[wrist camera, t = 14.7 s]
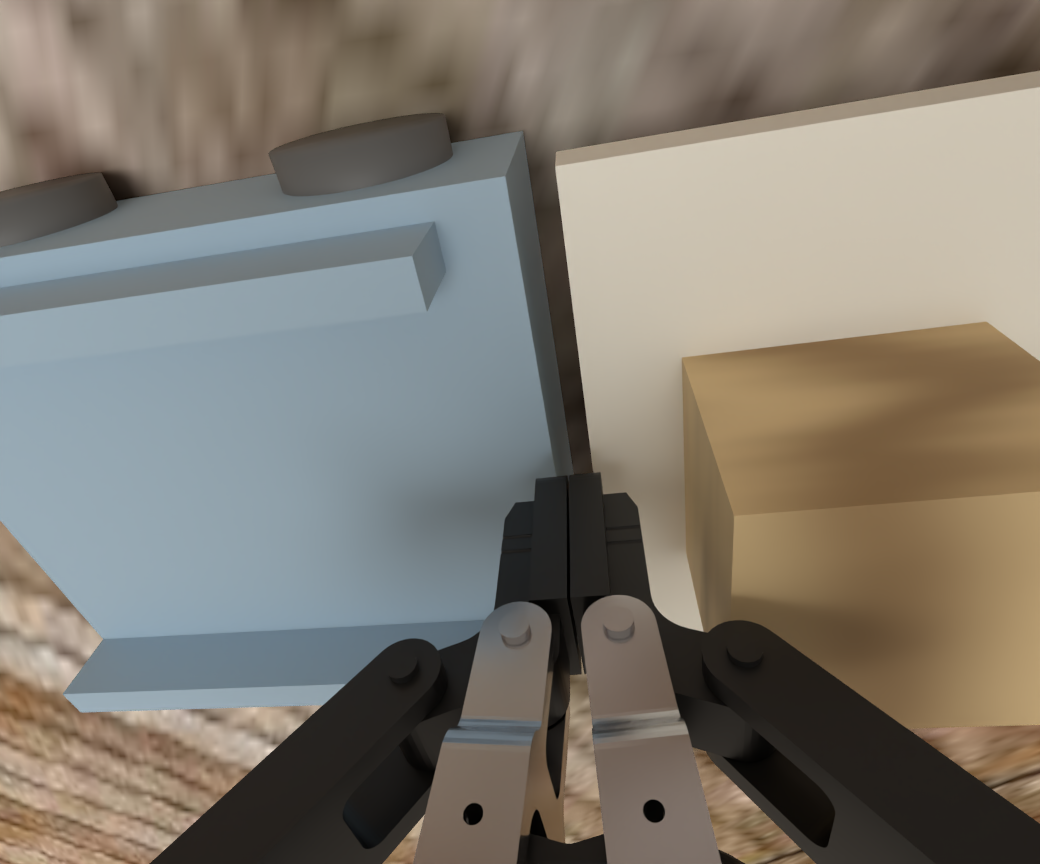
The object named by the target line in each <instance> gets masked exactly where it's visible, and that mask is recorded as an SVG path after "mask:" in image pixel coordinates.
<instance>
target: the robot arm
mask: <svg viewBox="0 0 1040 864" xmlns="http://www.w3.org/2000/svg"><path fill="white" fill-rule="evenodd" d="M581 657H582V663H583V668H584V673H585V674H587V682H588V690H589V699H590V707H591V715H592V725H593V728H592V735H593V745H594V753H595V762H596V771H597V779H598V788H599V796H600V805H601V813H602V822H603V830H604V834H602V835H599V836H596V837H593V838H590V839H586V840H583V841H580V842H577V843H572V844H566V843H565V829H564V792H565V778H566V764H567V750H568V736H569V721H570V707H569V701H570V675H577V674H582V672H581ZM692 747H694V748H697V749H701V750H704V751H706V752H707V754H708V756H709V757H710V759H711V760H712V761H713V762H714V763H715V765H716V766H717V767H718V768H719V769H720V770H721V771H723V772H724V773H725V774H726V775H727V776H728V777H729V778H730V779H731V780H732V781H733V782H734V783H735V784H736V785H737V786H738V787H739V788H740V789H741V790H742V791H743V792H744V793H745V794H746V795H747V796H748V797H749V798H750V799H751V800H752V801H753V802H754V803H755V804H756V805H757V806H758V807H759V808H760V809H761V810H762V811H763V812H764V813H765V814H766V815H767V816H768V817H769V818H770V819H771V820H772V821H773V822H774V823H775V824H776V825H777V826H779V827H780V828H781V829H782V830H783V831H784V832H785V833H786V834H787V835H788V836H789V837H790V838H791V839H792V840H793V841H794V842H795V843H796V844H797V845H798V846H799V847H800V848H801V849H802V850H803V851H804V852H805V853H806V854H807V855H808V856H809V857H810V858H811V859H812V860H813V861H814V862H815V863H816V864H1040V824H1039V823H1038V822H1036V821H1035V820H1034V819H1032V818H1031V817H1030V816H1028V815H1027V814H1025V813H1024V812H1023V811H1021V810H1020V809H1018V808H1017V807H1016V806H1014V805H1013V804H1011V803H1010V802H1009V801H1007V800H1006V799H1004V798H1003V797H1002V796H1000V795H999V794H998V793H996V792H995V791H993V790H992V789H991V788H989V787H988V786H986V785H985V784H984V783H982V782H981V781H979V780H978V779H977V778H975V777H974V776H972V775H971V774H970V773H968V772H967V771H965V770H964V769H963V768H961V767H960V766H959V765H957V764H956V763H954V762H953V761H952V760H950V759H949V758H947V757H946V756H945V755H943V754H942V753H940V752H939V751H938V750H936V749H935V748H933V747H932V746H931V745H929V744H928V743H927V742H925V741H924V740H922V739H921V738H920V737H918V736H917V735H915V734H914V733H913V732H911V731H910V730H908V729H907V728H906V727H904V726H903V725H901V724H900V723H899V722H897V721H896V720H895V719H893V718H892V717H890V716H889V715H888V714H886V713H885V712H883V711H882V710H881V709H879V708H878V707H876V706H875V705H874V704H872V703H871V702H869V701H868V700H867V699H865V698H864V697H862V696H861V695H860V694H858V693H857V692H856V691H854V690H853V689H851V688H850V687H849V686H847V685H846V684H844V683H843V682H842V681H840V680H839V679H837V678H836V677H835V676H833V675H832V674H830V673H829V672H828V671H826V670H825V669H824V668H822V667H821V666H819V665H818V664H817V663H815V662H814V661H812V660H811V659H810V658H808V657H807V656H805V655H804V654H803V653H801V652H800V651H798V650H797V649H796V648H794V647H793V646H792V645H790V644H789V643H787V642H786V641H785V640H783V639H782V638H780V637H779V636H778V635H776V634H775V633H773V632H772V631H771V630H769V629H767V628H766V627H764V626H762V625H759V624H757V623H754V622H750V621H744V620H733V621H727V622H723V623H721V624H718V625H717V626H715V627H714V628H712V629H711V630H710V631H709V632H708V633H707V632H703V631H698V630H694V629H689V628H686V627H682V626H680V625H677V624H675V623H673V622H671V621H670V620H668V619H667V618H665V617H664V616H663V615H662V614H661V613H660V612H659V611H658V610H657V608H656V607H655V605H654V603H653V601H652V597H651V592H650V585H649V578H648V572H647V565H646V558H645V552H644V545H643V538H642V532H641V525H640V518H639V512H638V507H637V505H636V504H635V503H634V502H633V500H632V499H631V498H630V497H629V495H628V494H627V493H626V492H623V493H612V494H603V486H602V478H601V472H596V473H586V474H575V475H569V480H568V476H567V475H566V476H556V477H546V478H536V481H535V495H534V501H527V502H516V503H515V504H514V506H513V507H512V509H511V510H510V512H509V513H508V515H507V516H506V518H505V521H504V530H503V540H502V547H501V556H500V564H499V573H498V581H497V590H496V598H495V606H494V611H493V612H492V613H491V614H489V615H488V617H487V618H486V619H485V620H484V622H483V624H482V627H481V630H480V631H479V632H478V633H477V634H475V635H474V636H472V637H471V638H469V639H467V640H465V641H462V642H460V643H457V644H454V645H451V646H449V647H446V648H443V649H440V650H437V649H436V647H435V646H434V645H433V644H431V643H430V642H428V641H426V640H423V639H418V638H410V639H404V640H401V641H398V642H396V643H394V644H392V645H390V646H388V647H387V648H386V649H384V650H383V651H382V652H381V653H380V654H379V655H377V656H376V657H375V658H374V659H373V660H372V661H371V662H370V663H369V664H368V665H366V666H365V667H364V668H363V669H362V670H361V671H360V672H359V673H358V674H357V675H356V676H354V677H353V678H352V679H351V680H350V681H349V682H348V683H347V684H346V685H345V686H344V687H342V688H341V689H340V690H339V691H338V692H337V693H336V694H335V695H334V696H333V697H331V698H330V699H329V700H328V701H327V702H326V703H325V704H324V705H323V706H322V707H321V708H319V709H318V710H317V711H316V712H315V713H314V714H313V715H312V716H311V717H310V718H309V719H307V720H306V721H305V722H304V723H303V724H302V725H301V726H300V727H299V728H298V729H296V730H295V731H294V732H293V733H292V734H291V735H290V736H289V737H288V738H287V739H286V740H284V741H283V742H282V743H281V744H280V745H279V746H278V747H277V748H276V749H275V750H274V751H272V752H271V753H270V754H269V755H268V756H267V757H266V758H265V759H264V760H263V761H261V762H260V763H259V764H258V765H257V766H256V767H255V768H254V769H253V770H252V771H251V772H249V773H248V774H247V775H246V776H245V777H244V778H243V779H242V780H241V781H240V782H238V783H237V784H236V785H235V786H234V787H233V788H232V789H231V790H230V791H229V792H228V793H226V794H225V795H224V796H223V797H222V798H221V799H220V800H219V801H218V802H217V803H216V804H214V805H213V806H212V807H211V808H210V809H209V810H208V811H207V812H206V813H205V814H203V815H202V816H201V817H200V818H199V819H198V820H197V821H196V822H195V823H194V824H193V825H191V826H190V827H189V828H188V829H187V830H186V831H185V832H184V833H183V834H182V835H181V836H179V837H178V838H177V839H176V840H175V841H174V842H173V843H172V844H171V845H170V846H168V847H167V848H166V849H165V850H164V851H163V852H162V853H161V854H160V855H159V856H158V857H156V858H155V859H154V860H153V861H152V862H151V863H150V864H382V863H383V862H384V861H385V860H386V859H387V857H388V856H389V855H390V854H391V853H392V852H393V851H394V849H395V848H396V847H397V846H398V845H399V844H400V842H401V841H402V840H403V839H404V838H405V837H406V835H407V834H408V833H409V832H410V831H411V830H412V828H413V827H414V826H415V825H416V824H417V823H418V821H419V820H420V819H421V818H422V817H423V816H424V814H425V816H424V820H423V824H422V829H421V833H420V837H419V841H418V845H417V849H416V853H415V858H414V862H413V864H745V863H743V862H741V861H740V860H738V859H736V858H734V857H733V856H731V855H729V854H727V853H725V852H723V851H720V850H718V847H717V843H716V840H715V836H714V832H713V828H712V824H711V820H710V816H709V812H708V808H707V804H706V800H705V796H704V792H703V788H702V784H701V780H700V776H699V772H698V768H697V764H696V761H695V757H694V753H693V749H692Z"/></svg>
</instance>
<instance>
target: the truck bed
mask: <svg viewBox="0 0 1040 864" xmlns="http://www.w3.org/2000/svg"><path fill="white" fill-rule="evenodd" d="M269 156H270V159H271V162H272V164H273V167H274V170H275V174H270V175H264V176H258V177H252V178H246V179H241V180H235V181H229V182H223V183H217V184H212V185H206V186H200V187H194V188H188V189H183V190H177V191H171V192H165V193H159V194H154V195H148V196H142V197H136V198H130V199H125V200H119V201H116V200H115V198H114V196H113V194H112V192H111V191H110V189H109V187H108V185H107V183H106V181H105V179H104V177H103V175H102V173H88V174H81V175H74V176H69V177H63V178H58V179H53V180H48V181H44V182H39V183H35V184H30V185H26V186H22V187H18V188H13V189H9V190H5V191H1V192H0V521H1V522H2V523H3V524H4V525H5V526H6V528H7V529H8V530H9V531H10V532H11V533H12V535H13V536H14V537H15V538H16V539H17V540H18V541H19V543H20V544H21V545H22V546H23V547H24V548H25V550H26V551H27V552H28V553H29V554H30V555H31V556H32V558H33V559H34V560H35V561H36V562H37V563H38V564H39V566H40V567H41V568H42V569H43V570H44V571H45V573H46V574H47V575H48V576H49V577H50V578H51V579H52V581H53V582H54V583H55V584H56V585H57V586H58V588H59V589H60V590H61V591H62V592H63V593H64V594H65V596H66V597H67V598H68V599H69V600H70V601H71V603H72V604H73V605H74V606H75V607H76V608H77V609H78V611H79V612H80V613H81V614H82V615H83V616H84V617H85V619H86V620H87V621H88V622H89V623H90V624H91V626H92V627H93V628H94V629H95V630H96V631H97V632H98V634H99V635H100V636H101V637H102V638H103V640H102V642H101V643H100V644H99V646H98V647H97V649H96V650H95V651H94V653H93V654H92V655H91V657H90V658H89V659H88V661H87V662H86V663H85V665H84V666H83V667H82V669H81V670H80V671H79V673H78V674H77V676H76V677H75V678H74V680H73V681H72V682H71V684H70V685H69V686H68V688H67V689H66V690H65V692H64V693H63V695H64V696H65V697H66V698H67V699H68V700H69V701H70V702H71V703H72V704H73V705H74V706H75V707H76V708H77V709H78V710H79V711H80V712H109V711H142V710H175V709H207V708H240V707H273V706H306V705H324V704H325V703H326V702H327V701H328V700H329V699H330V698H331V697H333V696H334V695H335V694H336V693H337V692H338V691H339V690H340V689H341V688H342V687H344V686H345V685H346V684H347V683H348V682H349V681H350V680H351V679H352V678H353V677H354V676H356V675H357V674H358V673H359V672H360V671H361V670H362V669H363V668H364V667H365V666H366V665H368V664H369V663H370V662H371V661H372V660H373V659H374V658H375V657H376V656H377V655H379V654H380V653H381V652H382V651H383V650H384V649H386V648H387V647H388V646H390V645H392V644H394V643H396V642H398V641H401V640H404V639H410V638H418V639H423V640H426V641H428V642H430V643H431V644H433V645H434V646H435V647H436V649H437V650H440V649H443V648H446V647H449V646H451V645H454V644H457V643H460V642H462V641H465V640H467V639H469V638H471V637H472V636H474V635H475V634H477V633H478V632H479V631H480V630H481V627H482V624H483V622H484V620H485V619H486V618H487V617H488V615H489V614H491V613H492V612H493V611H494V606H495V598H496V590H497V581H498V573H499V564H500V556H501V547H502V540H503V530H504V521H505V518H506V516H507V515H508V513H509V512H510V510H511V509H512V507H513V506H514V504H515V503H516V502H527V501H534V495H535V481H536V478H546V477H556V476H566V475H567V476H568V480H569V475H574V473H573V466H572V459H571V452H570V446H569V439H568V432H567V425H566V419H565V412H564V405H563V398H562V391H561V385H560V378H559V371H558V364H557V358H556V351H555V344H554V337H553V331H552V324H551V317H550V310H549V304H548V297H547V290H546V283H545V277H544V270H543V263H542V256H541V250H540V243H539V236H538V229H537V222H536V216H535V209H534V202H533V195H532V189H531V182H530V175H529V168H528V162H527V155H526V148H525V141H524V135H523V131H519V132H513V133H507V134H501V135H496V136H490V137H484V138H478V139H472V140H467V141H461V142H455V143H451V141H450V136H449V132H448V127H447V122H446V117H445V115H444V114H440V113H427V114H416V115H408V116H401V117H394V118H388V119H382V120H377V121H372V122H367V123H362V124H357V125H352V126H348V127H344V128H339V129H335V130H331V131H327V132H323V133H319V134H316V135H312V136H309V137H305V138H302V139H299V140H296V141H293V142H290V143H287V144H284V145H282V146H279V147H277V148H275V149H273V150H271V151H270V152H269Z"/></svg>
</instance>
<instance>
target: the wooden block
mask: <svg viewBox="0 0 1040 864" xmlns="http://www.w3.org/2000/svg"><path fill="white" fill-rule="evenodd" d="M682 387H683V432H684V476H685V520H686V554H687V559H688V564H689V568H690V573H691V577H692V582H693V586H694V591H695V595H696V600H697V604H698V609H699V614H700V618H701V623H702V627H703V632H707V633H708V632H709V631H710V630H711V629H712V628H714V627H715V626H717V625H718V624H721V623H723V622H727V621H733V620H744V621H750V622H754V623H757V624H759V625H762V626H764V627H766V628H767V629H769V630H771V631H772V632H773V633H775V634H776V635H778V636H779V637H780V638H782V639H783V640H785V641H786V642H787V643H789V644H790V645H792V646H793V647H794V648H796V649H797V650H798V651H800V652H801V653H803V654H804V655H805V656H807V657H808V658H810V659H811V660H812V661H814V662H815V663H817V664H818V665H819V666H821V667H822V668H824V669H825V670H826V671H828V672H829V673H830V674H832V675H833V676H835V677H836V678H837V679H839V680H840V681H842V682H843V683H844V684H846V685H847V686H849V687H850V688H851V689H853V690H854V691H856V692H857V693H858V694H860V695H861V696H862V697H864V698H865V699H867V700H868V701H869V702H871V703H872V704H874V705H875V706H876V707H878V708H879V709H881V710H882V711H883V712H885V713H886V714H888V715H889V716H890V717H892V718H893V719H895V720H896V721H897V722H899V723H900V724H901V725H903V726H904V727H906V728H907V729H911V728H946V727H980V726H1014V725H1040V361H1039V360H1037V359H1036V358H1035V357H1033V356H1032V355H1031V354H1029V353H1028V352H1027V351H1025V350H1024V349H1023V348H1021V347H1020V346H1019V345H1017V344H1016V343H1015V342H1013V341H1012V340H1011V339H1009V338H1008V337H1007V336H1005V335H1004V334H1003V333H1001V332H1000V331H999V330H997V329H996V328H995V327H993V326H992V325H991V324H989V323H988V322H979V323H970V324H962V325H953V326H945V327H936V328H928V329H919V330H911V331H902V332H894V333H885V334H877V335H868V336H860V337H851V338H843V339H834V340H826V341H817V342H809V343H801V344H792V345H784V346H775V347H767V348H758V349H750V350H741V351H733V352H724V353H716V354H707V355H699V356H690V357H682Z"/></svg>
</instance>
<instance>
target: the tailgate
mask: <svg viewBox="0 0 1040 864" xmlns="http://www.w3.org/2000/svg"><path fill="white" fill-rule="evenodd" d="M555 169H556V177H557V185H558V193H559V201H560V209H561V217H562V225H563V233H564V241H565V250H566V258H567V266H568V274H569V282H570V290H571V298H572V306H573V314H574V322H575V330H576V338H577V346H578V354H579V362H580V370H581V378H582V386H583V394H584V402H585V410H586V418H587V426H588V434H589V442H590V450H591V458H592V466H593V473H596V472H601V478H602V486H603V494H612V493H623V492H626V493H627V494H628V495H629V497H630V498H631V499H632V500H633V502H634V503H635V504H636V505H637V507H638V512H639V518H640V525H641V532H642V538H643V545H644V552H645V558H646V565H647V572H648V578H649V585H650V592H651V597H652V601H653V603H654V605H655V607H656V608H657V610H658V611H659V612H660V613H661V614H662V615H663V616H664V617H665V618H667V619H668V620H670V621H671V622H673V623H675V624H677V625H680V626H682V627H686V628H689V629H694V630H698V631H703V627H702V623H701V618H700V614H699V609H698V604H697V600H696V595H695V591H694V586H693V582H692V577H691V573H690V568H689V564H688V559H687V554H686V520H685V476H684V432H683V387H682V357H690V356H699V355H707V354H716V353H724V352H733V351H741V350H750V349H758V348H767V347H775V346H784V345H792V344H801V343H809V342H817V341H826V340H834V339H843V338H851V337H860V336H868V335H877V334H885V333H894V332H902V331H911V330H919V329H928V328H936V327H945V326H953V325H962V324H970V323H979V322H988V323H989V324H991V325H992V326H993V327H995V328H996V329H997V330H999V331H1000V332H1001V333H1003V334H1004V335H1005V336H1007V337H1008V338H1009V339H1011V340H1012V341H1013V342H1015V343H1016V344H1017V345H1019V346H1020V347H1021V348H1023V349H1024V350H1025V351H1027V352H1028V353H1029V354H1031V355H1032V356H1033V357H1035V358H1036V359H1037V360H1039V361H1040V71H1035V72H1029V73H1023V74H1017V75H1011V76H1005V77H999V78H993V79H987V80H981V81H975V82H969V83H963V84H957V85H951V86H945V87H939V88H933V89H927V90H921V91H915V92H909V93H903V94H897V95H891V96H885V97H879V98H873V99H867V100H861V101H855V102H849V103H843V104H837V105H832V106H826V107H820V108H814V109H808V110H802V111H796V112H790V113H784V114H778V115H772V116H766V117H760V118H754V119H748V120H742V121H736V122H730V123H724V124H718V125H712V126H706V127H700V128H694V129H688V130H682V131H676V132H670V133H664V134H658V135H652V136H646V137H640V138H634V139H628V140H622V141H616V142H610V143H604V144H598V145H592V146H586V147H580V148H575V149H569V150H563V151H557V152H556V161H555Z"/></svg>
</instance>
